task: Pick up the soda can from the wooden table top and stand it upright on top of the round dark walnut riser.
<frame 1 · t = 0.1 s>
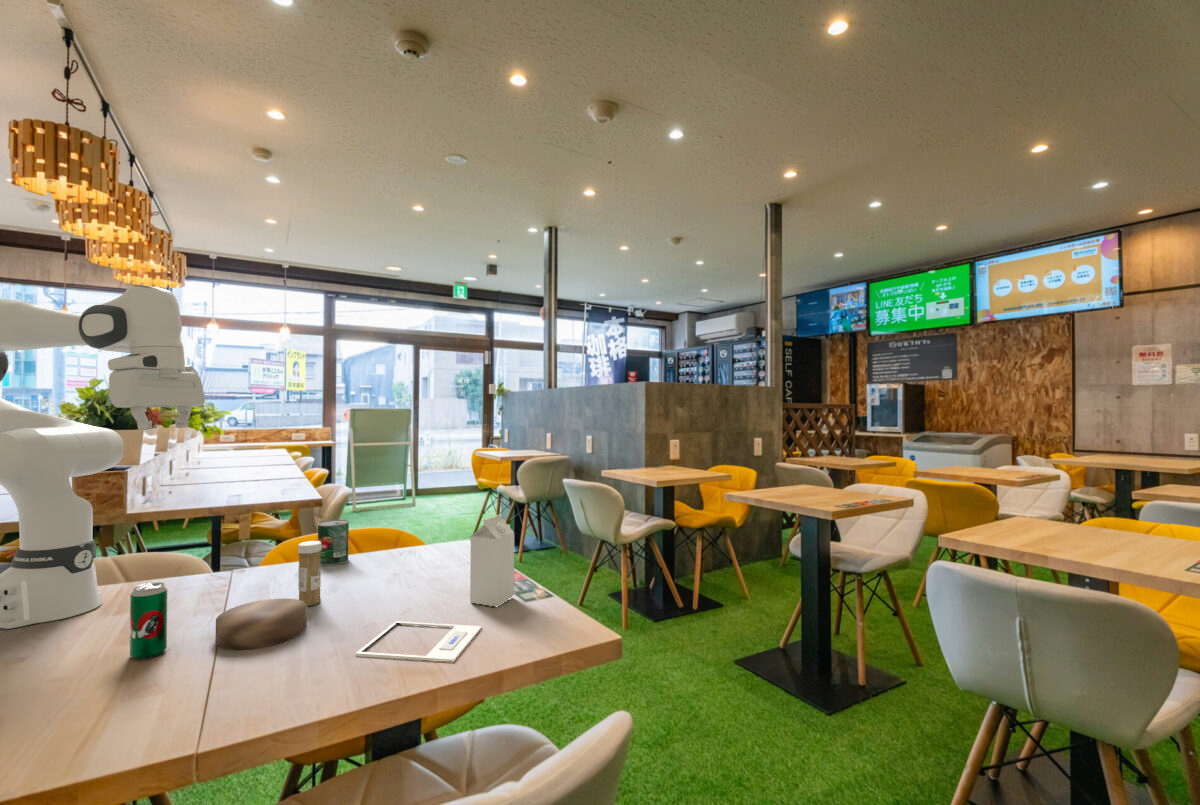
hand: (164, 428, 116), 39 cm above the table, tool pointing down, fingers open, 8 cm apart
walnut riser: (262, 632, 107), on the table
soda can: (148, 655, 98), on the table
canned tomato: (333, 562, 156), on the table
milk carton: (492, 601, 126), on the table
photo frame: (422, 644, 104), on the table
sprinkles bottle: (309, 604, 123), on the table
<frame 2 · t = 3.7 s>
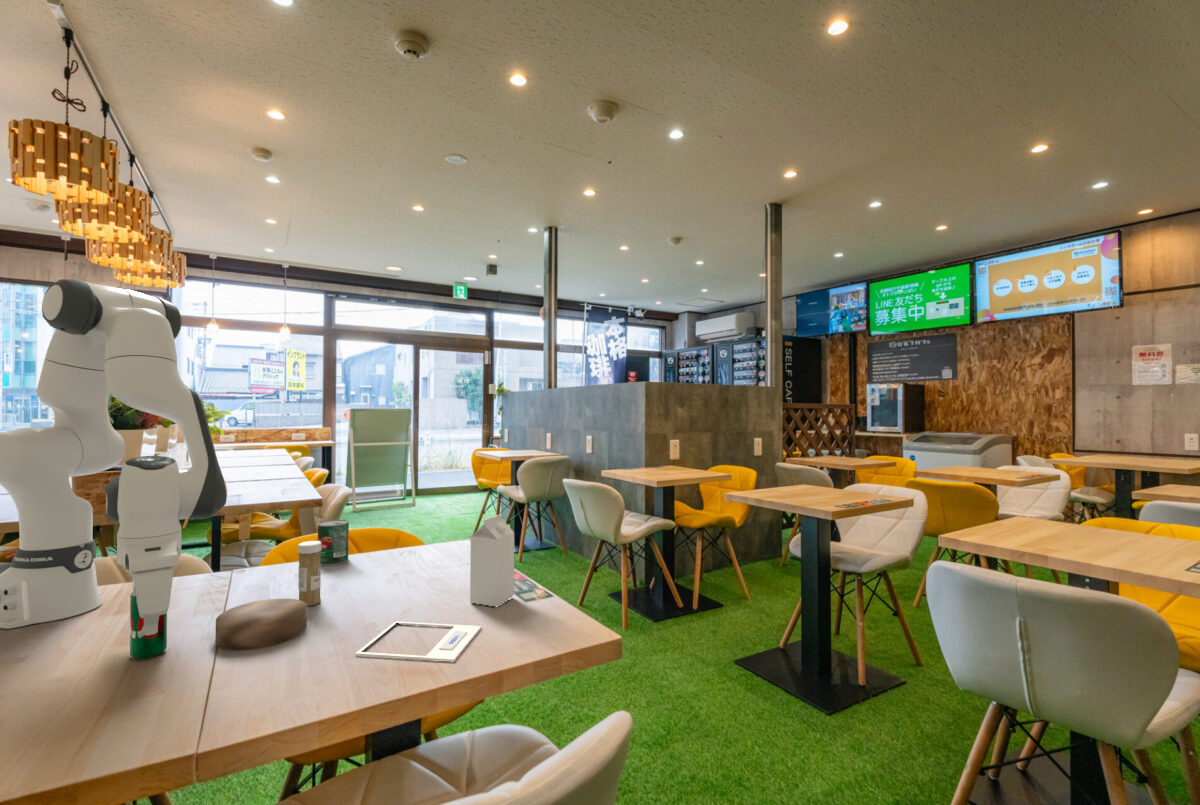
hand: (149, 627, 98), 5 cm above the table, tool pointing down, fingers closed on soda can, 5 cm apart
soda can: (148, 655, 98), on the table, touching gripper
everything else where it was.
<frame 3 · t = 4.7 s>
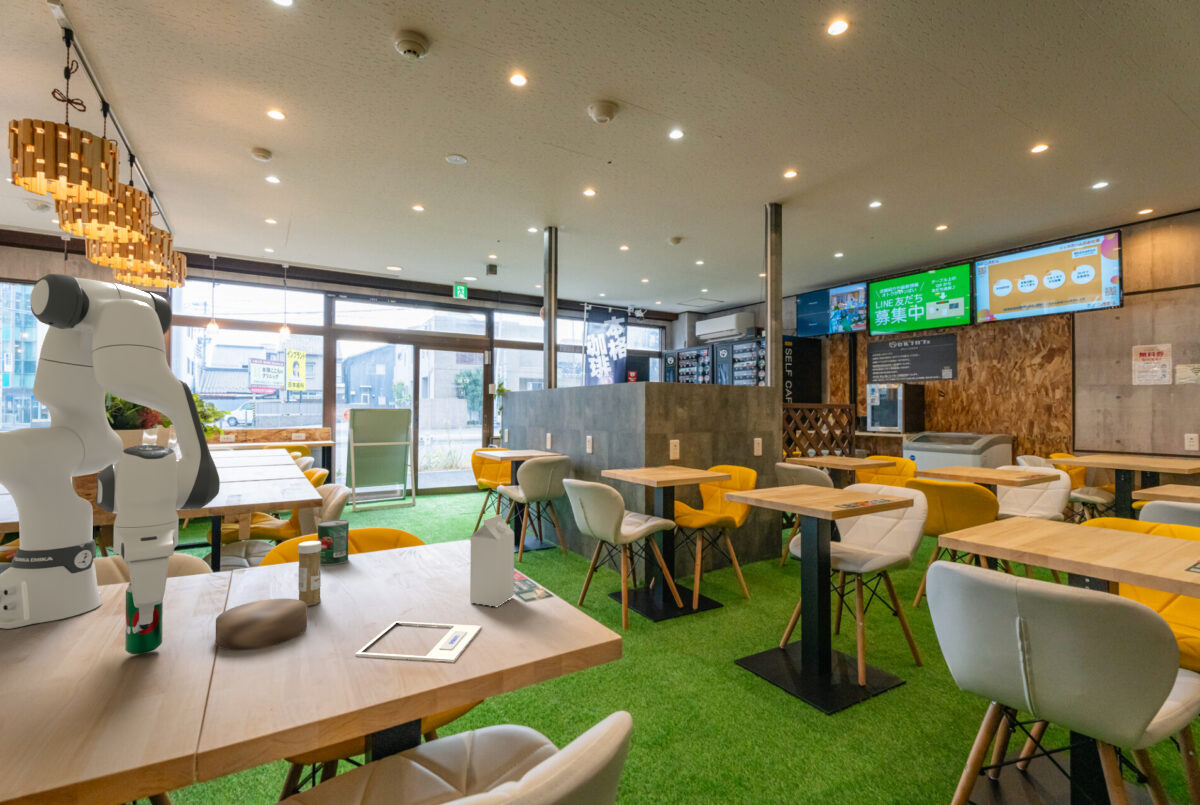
hand: (144, 617, 98), 7 cm above the table, tool pointing down, fingers closed on soda can, 5 cm apart
soda can: (144, 649, 98), point 1 cm above the table, touching gripper
everything else where it was.
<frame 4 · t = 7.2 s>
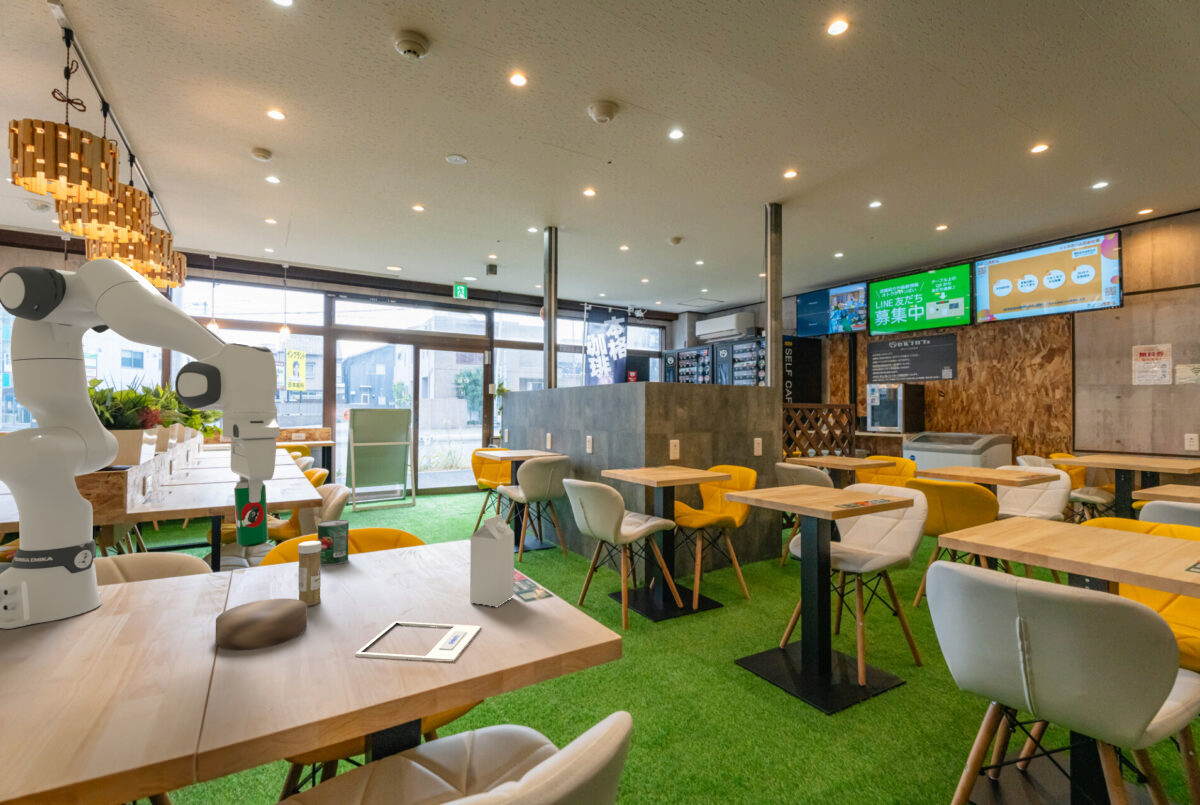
hand: (251, 500, 106), 26 cm above the table, tool pointing down, fingers closed on soda can, 5 cm apart
soda can: (253, 545, 106), point 17 cm above the table, touching gripper
everything else where it was.
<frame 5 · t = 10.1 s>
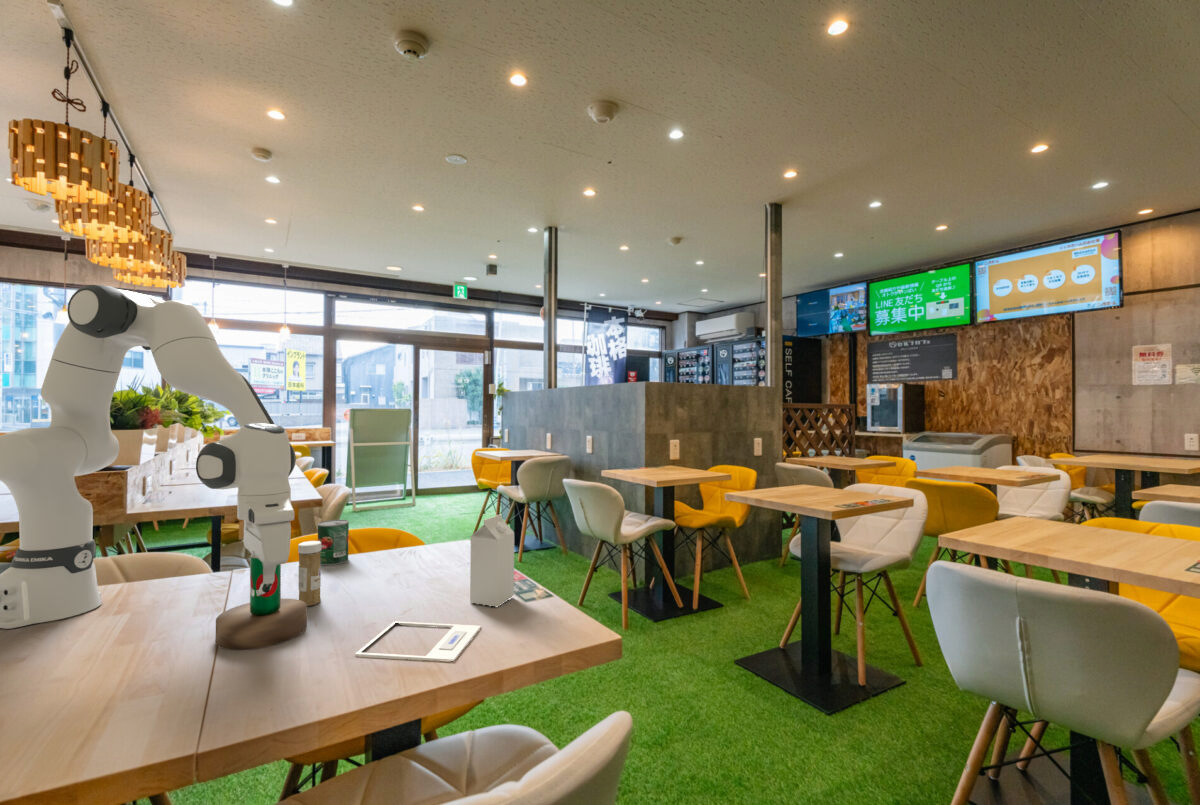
hand: (264, 579, 107), 10 cm above the table, tool pointing down, fingers closed on soda can, 5 cm apart
soda can: (265, 613, 107), point 4 cm above the table, touching gripper, walnut riser
everything else where it was.
when the fingers open (10 cm above the table, at t = 10.1 s): soda can stays where it is, resting on walnut riser.
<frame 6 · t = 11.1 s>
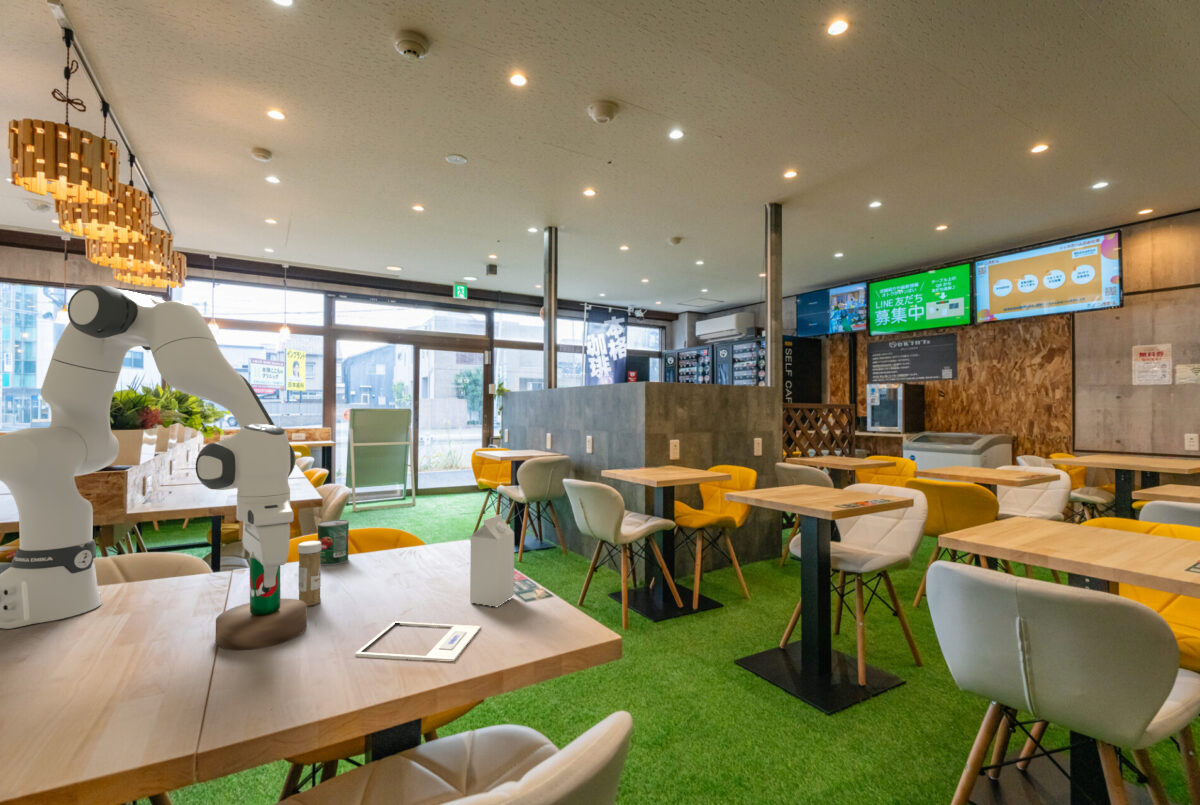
hand: (263, 580, 107), 10 cm above the table, tool pointing down, fingers open, 8 cm apart
soda can: (265, 613, 107), point 4 cm above the table, touching walnut riser
everything else where it was.
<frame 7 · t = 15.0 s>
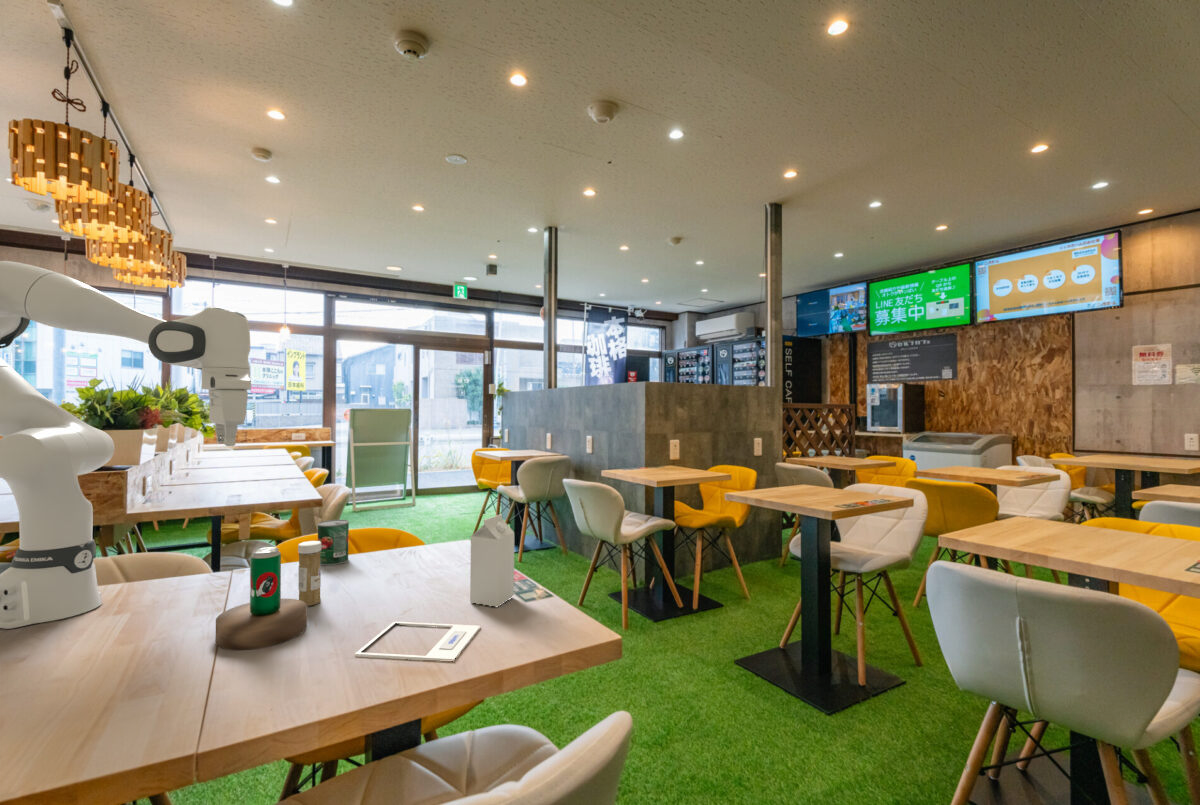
hand: (225, 444, 122), 35 cm above the table, tool pointing down, fingers open, 8 cm apart
nothing on the table moved.
at the end: soda can inside the target area on the walnut riser (0.6 cm from its centre), point 3.8 cm above the walnut riser's base; soda can tilted 1°; the gripper is holding nothing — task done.
